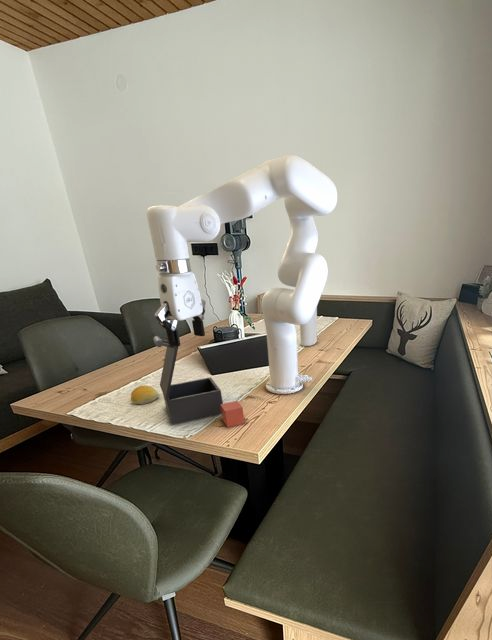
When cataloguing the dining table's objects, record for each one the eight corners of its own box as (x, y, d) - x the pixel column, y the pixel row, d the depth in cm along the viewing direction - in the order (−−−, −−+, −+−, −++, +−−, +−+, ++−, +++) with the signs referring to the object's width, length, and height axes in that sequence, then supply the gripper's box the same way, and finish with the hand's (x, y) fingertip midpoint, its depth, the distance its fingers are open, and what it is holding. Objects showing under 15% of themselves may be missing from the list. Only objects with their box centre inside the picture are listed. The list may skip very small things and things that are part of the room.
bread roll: (131, 407, 112) (128, 395, 110) (132, 396, 120) (129, 385, 118) (159, 402, 115) (156, 390, 113) (158, 392, 122) (155, 381, 120)
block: (239, 416, 104) (237, 400, 102) (244, 423, 100) (242, 407, 98) (222, 420, 102) (220, 404, 100) (227, 427, 98) (224, 411, 96)
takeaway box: (214, 398, 116) (210, 377, 112) (224, 413, 106) (220, 390, 103) (166, 408, 111) (161, 386, 107) (172, 424, 101) (166, 401, 97)
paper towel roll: (299, 346, 163) (298, 296, 152) (301, 342, 168) (300, 294, 157) (315, 346, 162) (315, 296, 151) (316, 342, 167) (316, 294, 156)
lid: (172, 333, 102) (153, 328, 99) (179, 343, 92) (158, 338, 89) (162, 385, 107) (143, 382, 104) (167, 400, 97) (148, 397, 95)
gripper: (160, 272, 76) (176, 351, 84) (209, 264, 89) (219, 333, 98) (134, 272, 79) (152, 348, 87) (186, 264, 92) (197, 331, 101)
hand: (187, 340), depth 92 cm, fingers open, 9 cm apart
